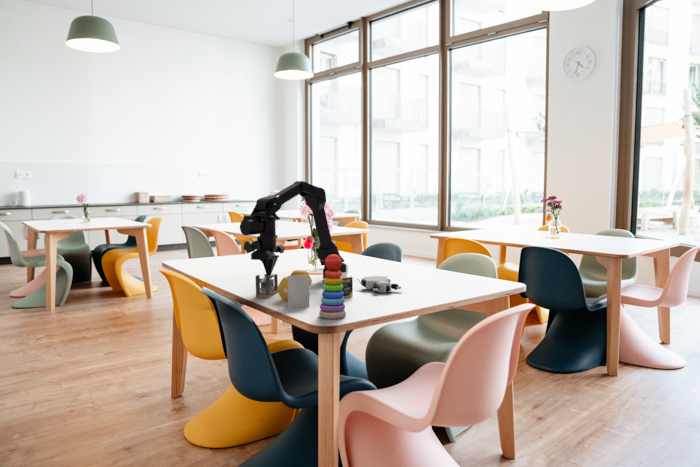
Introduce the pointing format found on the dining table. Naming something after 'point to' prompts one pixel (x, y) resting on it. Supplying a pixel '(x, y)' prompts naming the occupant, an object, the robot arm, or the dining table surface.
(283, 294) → the dumbbell
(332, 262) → the stacking toy
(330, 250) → the robot arm
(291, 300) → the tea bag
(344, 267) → the medicine bottle
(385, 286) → the robot toy
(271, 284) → the grey and tan frame
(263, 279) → the grey bar
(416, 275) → the dining table surface
